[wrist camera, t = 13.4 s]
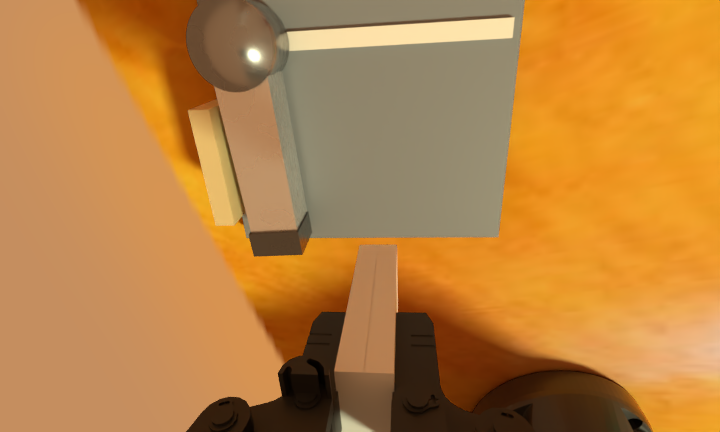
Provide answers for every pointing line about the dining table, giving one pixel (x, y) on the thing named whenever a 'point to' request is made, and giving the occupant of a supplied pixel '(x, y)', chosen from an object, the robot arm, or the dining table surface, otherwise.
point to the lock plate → (388, 116)
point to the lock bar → (254, 116)
